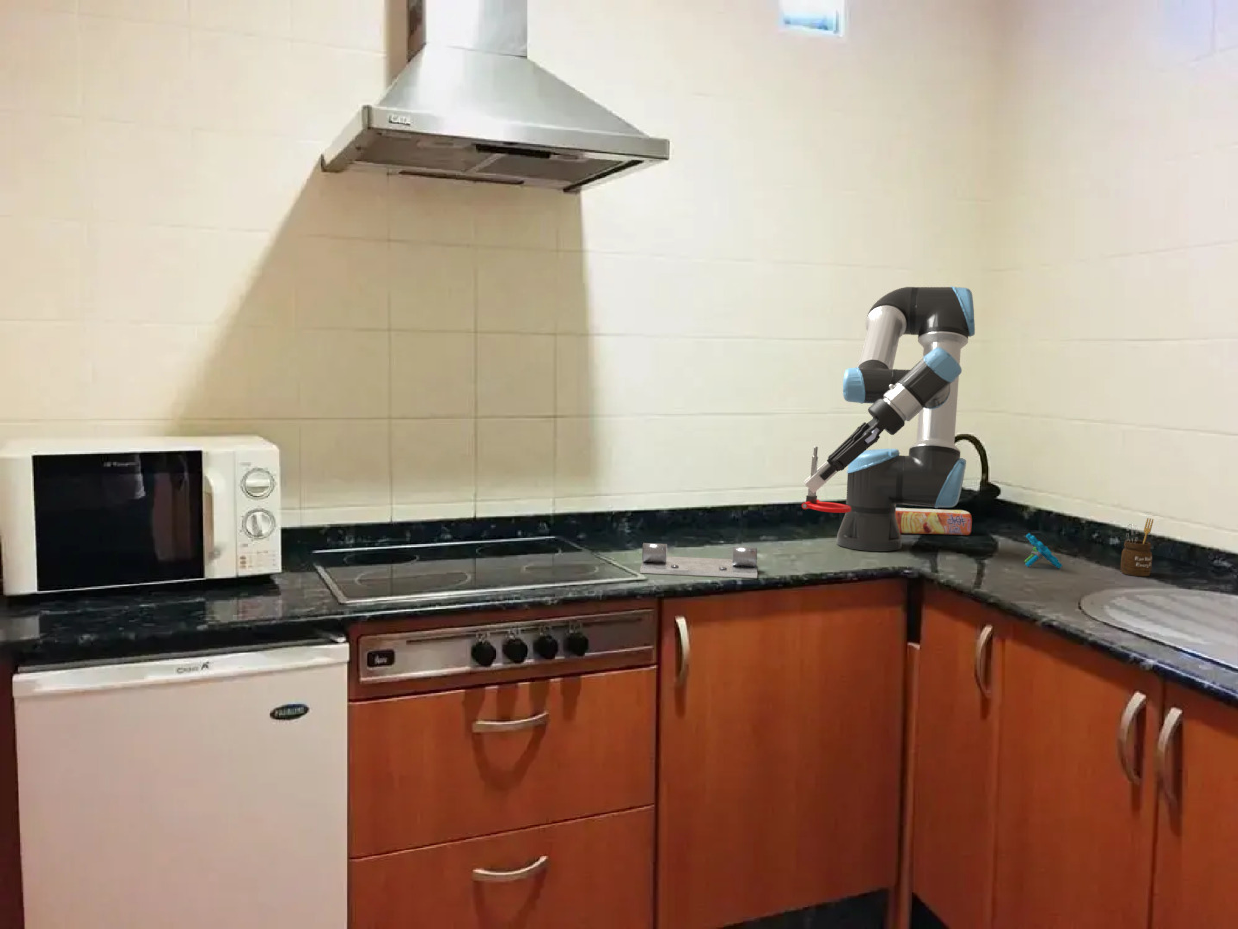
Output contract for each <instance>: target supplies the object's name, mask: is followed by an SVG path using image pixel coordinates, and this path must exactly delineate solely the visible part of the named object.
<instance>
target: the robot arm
mask: <svg viewBox="0 0 1238 929" xmlns="http://www.w3.org/2000/svg"><path fill="white" fill-rule="evenodd" d="M975 327H976V326H975V309H974V298H973V293H972V290H971V289H969V288H967V287H957V286H928V287H927V286H905V287H901V288H897V289H894V290H892V291H890V292H888V293H886V294H885V295H883V296H882V297H880V298H879V299H878V300H877V301H876V302H874V304H873V305H872V307H871V308H870V309H869V311H868V313H867V315H866V319H865V329H866V331H867V332H866V335H865V338H864V343H863V347H862V350H861V354H860V357H859V361H858V364H857V366H856V367H849V368H846V370H845V371H844V374H843V379H842V396H843V398H844V400H845V401H846V402H848V403H856V404H861V405H862V404H872V405H870V406H869V407H868V408H867V412H868V413H869V415H870V416H871V417H872V419H870V421H868V422H862V423H861V424H860V425H859V426H858V427H857V428H856V429H855V430H854V431H853V433H852V434H850V435H849V436H848V437H847V439H845V440H844V441H843V442H842V443H841V444H840V445H839V446H838V447H837V448H836V449H835V450H834V451H832V453H830V454H829V455H828V457H827V460H826V461H825V462H824V463H822V465H820V466H819V467H817V473H815V474H814V475H813V476H812V477H811V475H809V476H808V477H807V478H805V479H804V481H803V484H804V485H805V486H806V487H807V488H809V489H810V490H811V491H812V492H813V493H815V492H816V493H817V491H819V490H820V489H821V487H823V485H825V484H826V483H827V482H828V481H829V480H831V478H832V477H834V476H835V475H836V474H837V473H838V472H839V471H840V472H841V471H843V470H845V468H847V471H846V474H847V478H846V479H847V481H846V482H847V483H846V501H845V505H848V506H850V507H851V511H850V512H846V513H844V516H843V518H842V521H841V524H840V527H839V529H838V532H837V534H836V544H837V545H838V546H840V547H843V548H845V549H846V548H847V549H851V550H852V549H853V550H858V551H865V552H866V551H867V552H891V551H897V550H901V548H902V543H903V542H902V541H903V540H902V535H901V534H900V530H899V527H898V523H897V519H896V508H897V505H902V506H905V505H906V506H914V507H915V506H919V507H932V508H935V509H938V508H954V507H955V506H957V504H958V503H959V499H960V496H961V492H962V488H963V484H964V478H965V473H966V471H965V470H966V467H967V460H966V459H965V458H963V457H961V450H960V449H959V448H958V447H957V445H955V440H956V424H957V423H956V422H957V411H958V410H957V408H958V396H959V395H958V393H959V382H960V381H959V380H960V375H961V374H962V371H963V370H962V367H961V363H960V362H961V351H962V349H963V348H964V347H965V346H966V345H967V344H968V343H969V338H971V337H973V336H975V334H976V329H975ZM903 335H905V336H907V335H910V336H917V342H918V344H919V345H920V346H921V347H922V348H923V350H922V351H923V352H922V359H920V360H919V361H918V362H917V363H916V364H915V365H914V366H913V367H912V368H911V369H897V368H894V364H895V360H896V355H897V350H898V347H899V343H900V342H899V341H900V338H901V337H903ZM893 368H894V369H893ZM915 416H918V417H917V430H916V432H917V433H916V442H915V443H914V444H912V445H911V446H910V447H909V449H908V455H900V450H899V449H897V448H875V449H869V448H871V447H872V445H874V444H876V443H877V442H878V441H879V439H880V438H881V436H880V435H881V434H882V433H883V432H884V431H886V432H887V434H889V435H891V436H895V434H897V433H898V432H899V431H900V430H901V429H902V428H903V427H904V426H905V424H906V422H910V421H912V420H913V418H914V417H915Z"/></svg>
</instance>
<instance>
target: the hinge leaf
mask: <svg viewBox="0 0 1238 929" xmlns="http://www.w3.org/2000/svg"><path fill="white" fill-rule="evenodd" d="M641 550H642V553H641V555H642V556H641V560H642V563H641V566H640V568H639V571H640V572H639V573H640V574H650V575H651V574H653V575H655V574H656V575H658V574H659V575H677V576H696V577H697V576H701V577H723V578H724V577H725V578H742V579H743V578H746V579H747V578H749V579H757V578H758V570H757V565H758V561H757V560H758V547H745V546H733V547H732V558H711V557H710V558H709V557H687V556H669V555H668V544H667V543H650V542H649V543H648V542H643V544H642V549H641Z"/></svg>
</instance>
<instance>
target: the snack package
mask: <svg viewBox="0 0 1238 929" xmlns="http://www.w3.org/2000/svg"><path fill="white" fill-rule="evenodd" d="M896 519H897V523H898V527H899V530H900V534H902V535H903V534H904V535H906V534H907V535H908V534H909V535H914V534H915V535H946V536H947V535H951V536H970V535H971V532H972V523H973V517H972V514H971V513H970V512H969V511H967V510H963V509H940V508H939V509H938V508H935V509H934V508H909V507H908V508H906V507H896Z"/></svg>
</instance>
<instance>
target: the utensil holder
mask: <svg viewBox="0 0 1238 929" xmlns="http://www.w3.org/2000/svg"><path fill="white" fill-rule="evenodd" d="M1153 523H1154V518H1149V517H1148V518H1146V521H1145V525H1144V528H1143V532H1144V538H1143V540H1141V539H1139V540H1138V538H1135V539H1130V538H1129V537H1130V536H1129V534H1126V537H1127V539H1126V540H1125V541H1124V543H1123V547H1124V548H1123V550H1122V551H1121V555H1120V556H1121V557H1120V572H1121V573H1122V574H1124V575H1127V576H1131V577H1132V576H1134V577H1149V576H1150V574H1151V571H1152V562H1153V553H1152V551H1151V549H1152V544H1151V542H1150V541H1146V540H1147V536H1148V534H1151V531H1152V527H1153ZM1133 526H1134V528H1137V525H1135V524H1134V523H1129V524H1128V525H1127V530H1129V528H1130V527H1131V534H1134V532H1133ZM1128 527H1129V528H1128ZM1135 533H1138V529H1135ZM1127 535H1128V536H1127Z"/></svg>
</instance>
